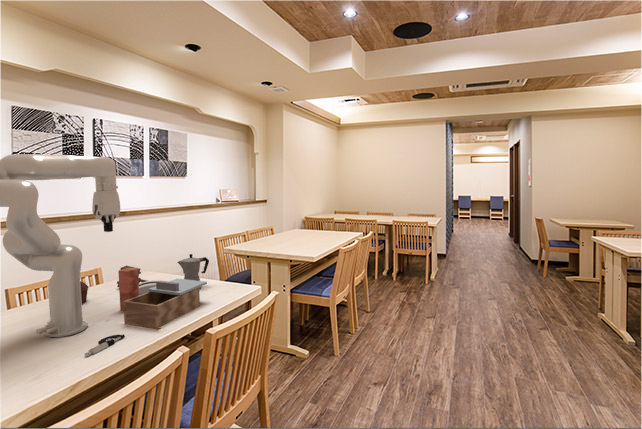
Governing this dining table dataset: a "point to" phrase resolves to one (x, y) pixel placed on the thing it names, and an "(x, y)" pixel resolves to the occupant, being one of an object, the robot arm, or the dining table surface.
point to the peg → (128, 285)
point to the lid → (176, 286)
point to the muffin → (83, 292)
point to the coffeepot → (192, 267)
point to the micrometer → (104, 344)
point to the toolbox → (158, 308)
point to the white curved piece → (147, 286)
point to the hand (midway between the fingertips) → (108, 231)
